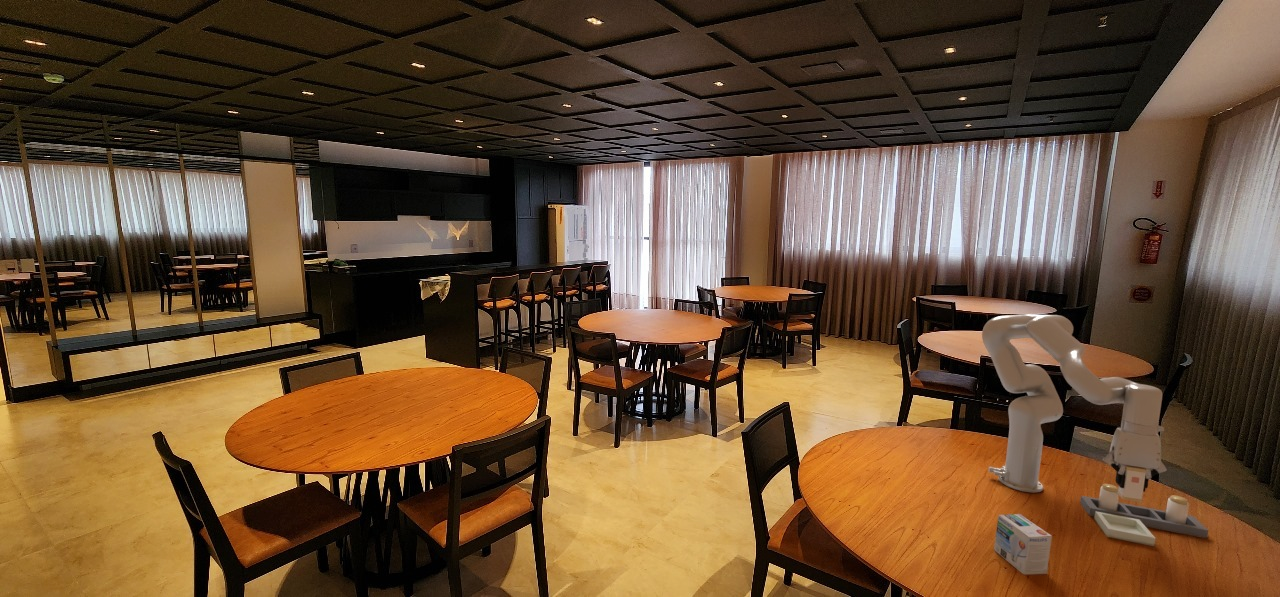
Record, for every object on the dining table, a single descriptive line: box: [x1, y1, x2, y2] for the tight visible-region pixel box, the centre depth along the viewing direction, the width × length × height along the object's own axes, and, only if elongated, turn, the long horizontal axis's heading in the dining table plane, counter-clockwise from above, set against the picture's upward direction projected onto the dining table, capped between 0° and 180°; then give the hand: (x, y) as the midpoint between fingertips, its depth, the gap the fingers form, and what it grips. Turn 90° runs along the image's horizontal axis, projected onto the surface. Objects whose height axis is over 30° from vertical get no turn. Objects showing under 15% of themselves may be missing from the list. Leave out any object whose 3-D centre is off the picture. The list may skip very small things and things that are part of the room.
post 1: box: [1098, 483, 1120, 512], centre depth 163 cm, size 4×4×9 cm
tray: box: [1093, 511, 1156, 547], centre depth 153 cm, size 10×10×2 cm
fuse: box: [1117, 466, 1147, 504], centre depth 151 cm, size 4×4×10 cm
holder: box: [1079, 495, 1209, 539], centre depth 160 cm, size 27×8×2 cm, turn 65°
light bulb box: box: [993, 513, 1053, 576], centre depth 138 cm, size 11×7×11 cm, turn 5°
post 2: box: [1165, 494, 1190, 524], centre depth 156 cm, size 4×4×9 cm
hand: (1130, 487), depth 151 cm, fingers closed on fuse, 4 cm apart
